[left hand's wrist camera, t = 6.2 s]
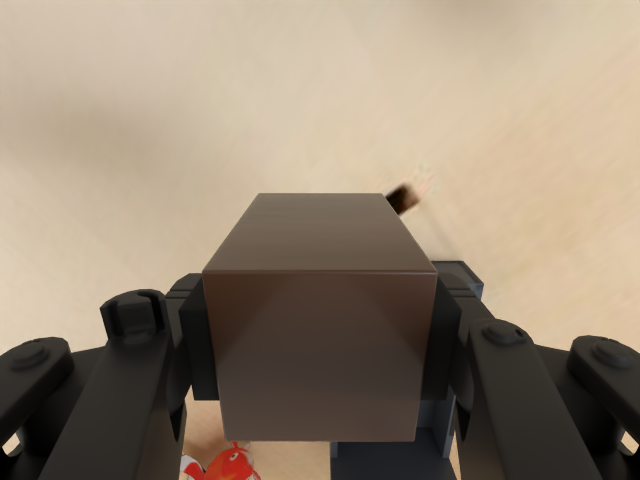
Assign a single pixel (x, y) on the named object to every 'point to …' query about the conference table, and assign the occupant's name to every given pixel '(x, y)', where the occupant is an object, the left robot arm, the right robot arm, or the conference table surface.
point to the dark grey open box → (430, 438)
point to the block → (319, 320)
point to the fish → (222, 466)
